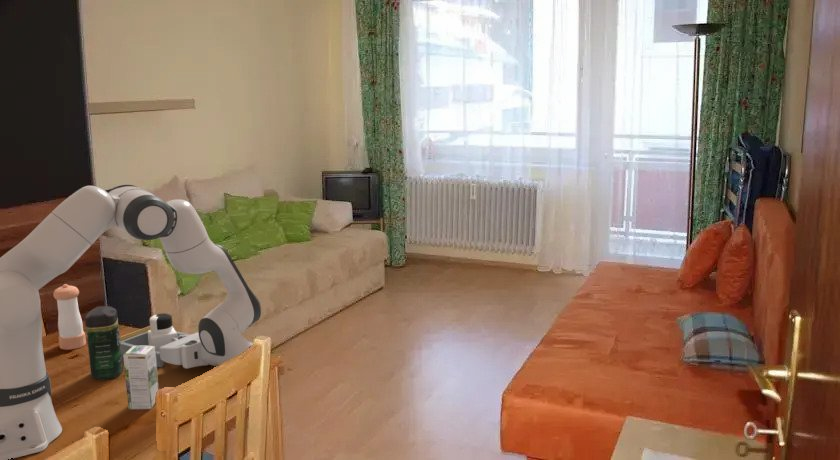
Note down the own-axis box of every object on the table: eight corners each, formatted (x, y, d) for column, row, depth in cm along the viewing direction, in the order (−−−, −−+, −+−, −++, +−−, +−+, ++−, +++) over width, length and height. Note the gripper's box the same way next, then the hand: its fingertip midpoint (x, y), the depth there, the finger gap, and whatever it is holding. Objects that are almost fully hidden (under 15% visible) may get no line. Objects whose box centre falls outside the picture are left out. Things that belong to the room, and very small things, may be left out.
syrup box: (137, 399, 186) (131, 345, 183) (160, 399, 186) (155, 344, 183) (128, 409, 181) (121, 353, 177) (152, 409, 180) (146, 353, 177)
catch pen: (160, 367, 206) (158, 349, 205) (117, 355, 216) (115, 338, 214) (201, 349, 218) (199, 333, 217) (159, 339, 228) (157, 322, 227)
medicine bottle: (174, 348, 220) (170, 309, 217) (179, 356, 214) (175, 316, 211) (149, 353, 217) (145, 314, 214) (153, 361, 210) (149, 321, 208)
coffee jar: (121, 379, 199) (113, 313, 195) (89, 382, 197) (80, 316, 193) (125, 365, 208) (118, 302, 204) (95, 368, 206) (87, 305, 202)
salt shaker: (64, 341, 228) (56, 281, 224) (89, 340, 228) (81, 280, 224) (56, 350, 221) (47, 288, 216) (81, 348, 221) (73, 287, 217)
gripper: (236, 325, 213) (202, 317, 220) (179, 348, 196) (145, 339, 203) (237, 346, 214) (204, 338, 221) (181, 371, 197) (147, 361, 204)
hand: (175, 339), depth 212 cm, fingers closed
